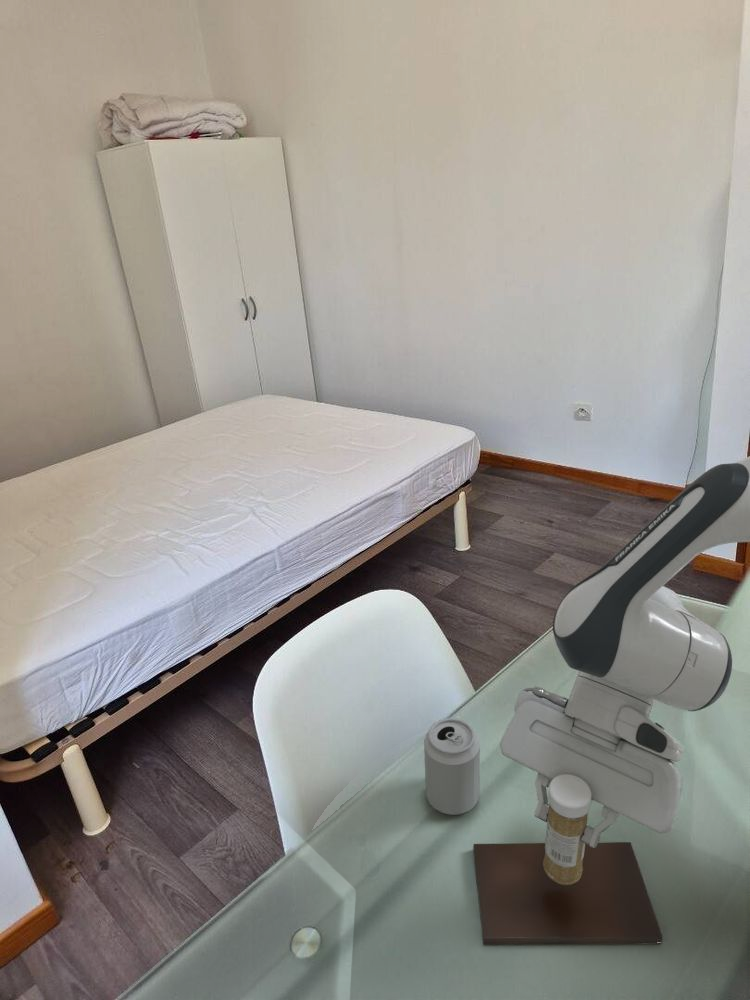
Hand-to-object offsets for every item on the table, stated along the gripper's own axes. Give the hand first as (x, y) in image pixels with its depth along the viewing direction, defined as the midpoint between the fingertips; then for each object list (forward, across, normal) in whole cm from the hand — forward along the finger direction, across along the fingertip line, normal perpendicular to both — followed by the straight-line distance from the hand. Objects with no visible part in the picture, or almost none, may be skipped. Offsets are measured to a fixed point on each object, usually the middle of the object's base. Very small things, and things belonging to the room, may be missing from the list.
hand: (564, 831), depth 78 cm
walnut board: (+8, 0, +9) cm, 12 cm away
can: (+5, -18, +12) cm, 22 cm away
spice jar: (+5, 0, +6) cm, 7 cm away
